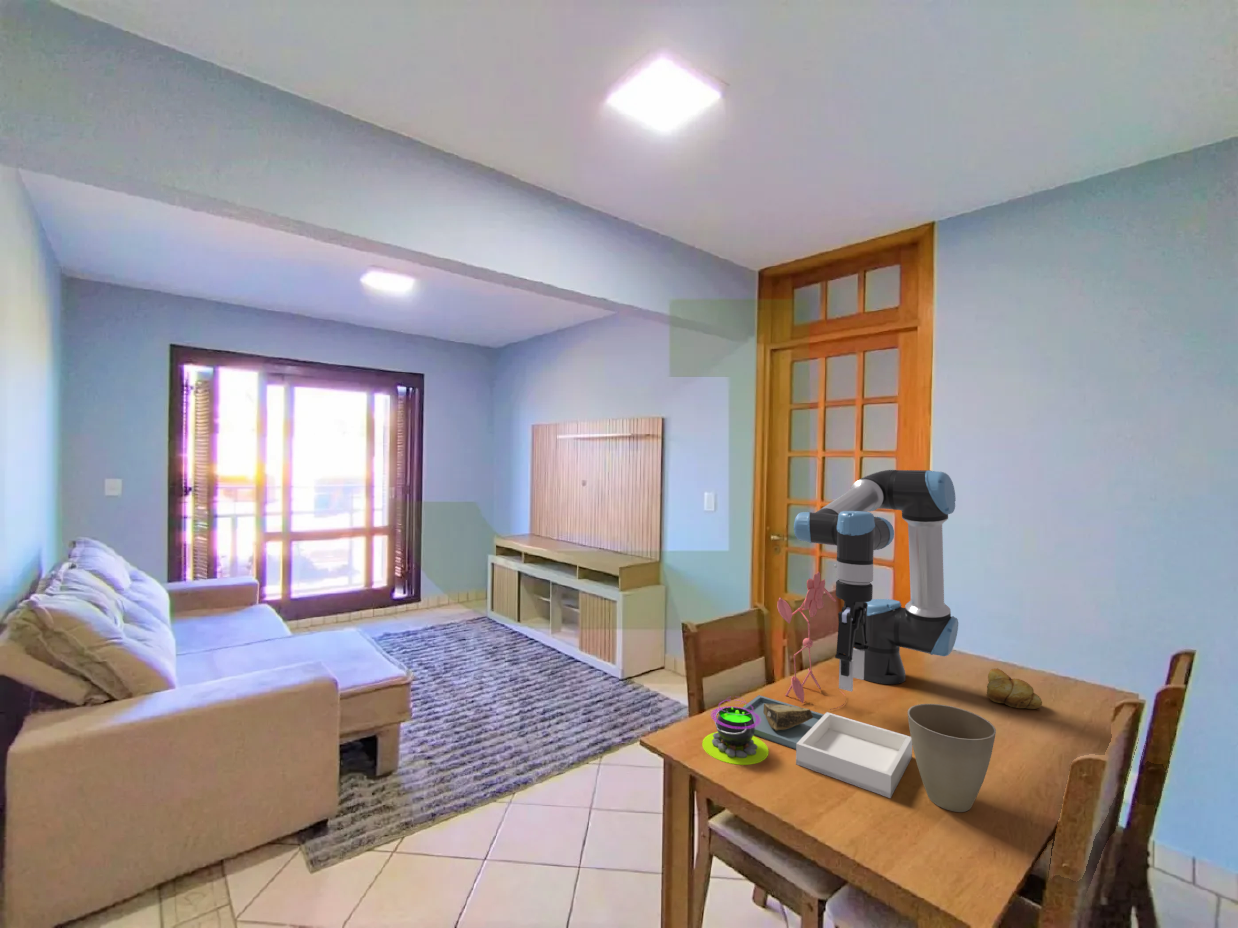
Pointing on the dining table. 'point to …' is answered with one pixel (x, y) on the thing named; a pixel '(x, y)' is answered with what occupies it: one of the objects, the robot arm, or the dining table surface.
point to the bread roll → (1011, 691)
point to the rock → (785, 716)
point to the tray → (780, 736)
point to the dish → (855, 753)
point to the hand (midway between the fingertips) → (851, 683)
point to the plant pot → (951, 753)
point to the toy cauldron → (735, 737)
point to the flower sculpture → (811, 603)
